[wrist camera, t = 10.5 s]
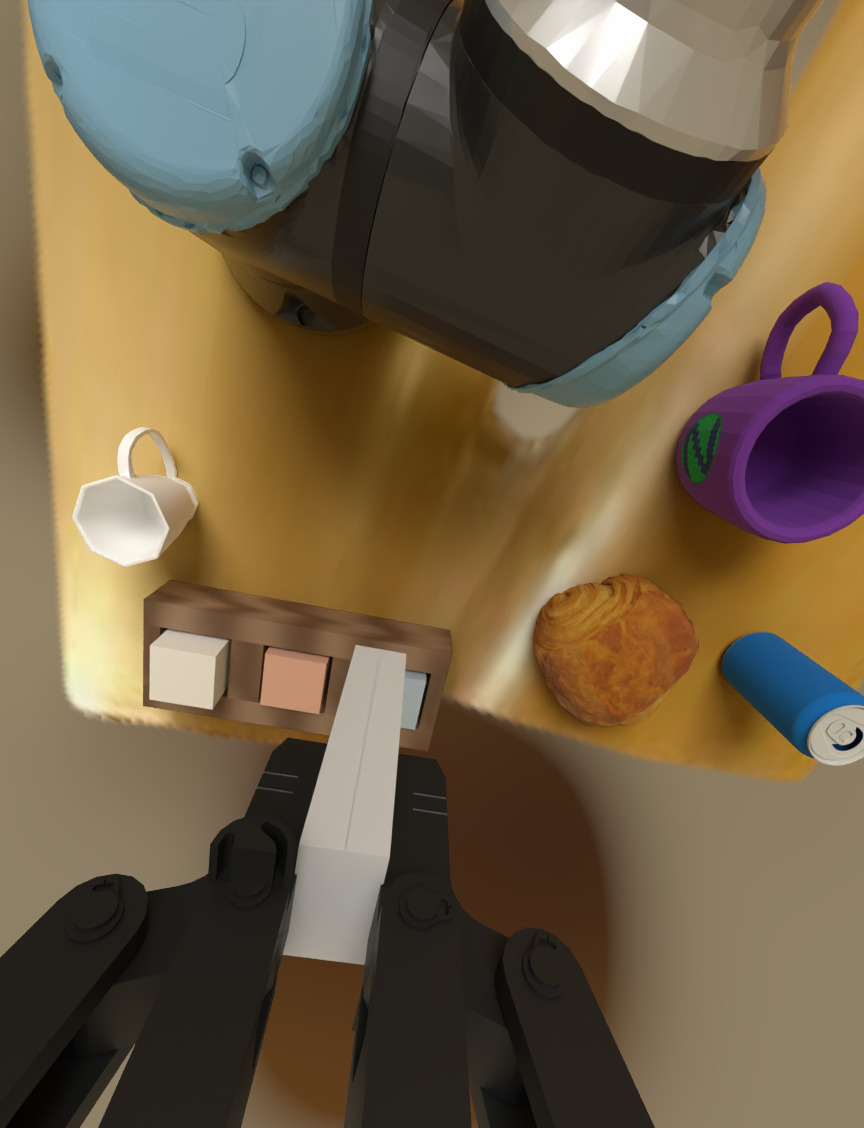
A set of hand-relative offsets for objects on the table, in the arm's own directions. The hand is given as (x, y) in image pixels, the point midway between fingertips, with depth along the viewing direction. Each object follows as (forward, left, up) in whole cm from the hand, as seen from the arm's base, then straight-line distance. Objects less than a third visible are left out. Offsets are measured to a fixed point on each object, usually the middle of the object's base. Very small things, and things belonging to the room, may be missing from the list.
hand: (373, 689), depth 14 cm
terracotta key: (+8, -18, -30) cm, 36 cm away
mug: (+10, +27, -31) cm, 42 cm away
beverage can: (+33, +19, -31) cm, 49 cm away
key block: (+8, -18, -30) cm, 36 cm away
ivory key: (+2, -24, -28) cm, 37 cm away
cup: (-12, -17, -31) cm, 37 cm away
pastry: (+23, +8, -31) cm, 39 cm away
